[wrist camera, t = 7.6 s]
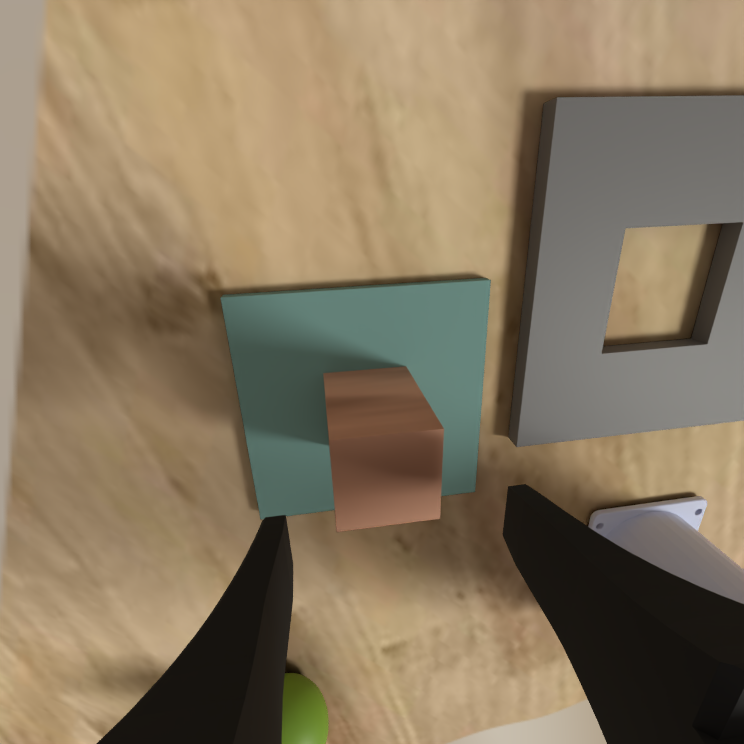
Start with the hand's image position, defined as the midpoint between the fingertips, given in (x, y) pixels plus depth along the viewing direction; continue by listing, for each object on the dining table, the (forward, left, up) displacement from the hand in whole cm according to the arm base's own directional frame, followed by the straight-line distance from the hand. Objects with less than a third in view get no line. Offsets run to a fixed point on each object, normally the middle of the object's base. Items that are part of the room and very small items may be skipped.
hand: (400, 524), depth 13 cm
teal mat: (0, 0, -9) cm, 9 cm away
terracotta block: (0, 0, -8) cm, 8 cm away
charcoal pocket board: (+5, -15, -9) cm, 18 cm away
